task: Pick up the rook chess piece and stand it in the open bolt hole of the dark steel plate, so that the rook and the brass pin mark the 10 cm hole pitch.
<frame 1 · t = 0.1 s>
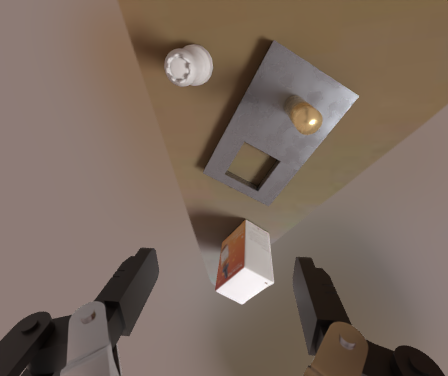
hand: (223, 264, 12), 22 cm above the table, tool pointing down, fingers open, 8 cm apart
small box: (244, 236, 42), on the table
bolt plate: (270, 136, 31), on the table
rook chess piece: (196, 65, 27), on the table
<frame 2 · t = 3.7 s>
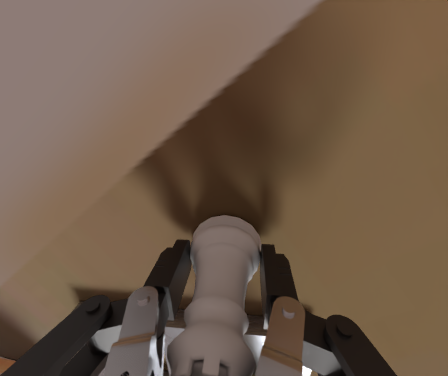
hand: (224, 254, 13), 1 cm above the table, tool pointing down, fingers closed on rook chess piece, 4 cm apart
small box: (36, 373, 25), on the table
bolt plate: (195, 355, 20), on the table
rook chess piece: (227, 238, 14), on the table, touching gripper
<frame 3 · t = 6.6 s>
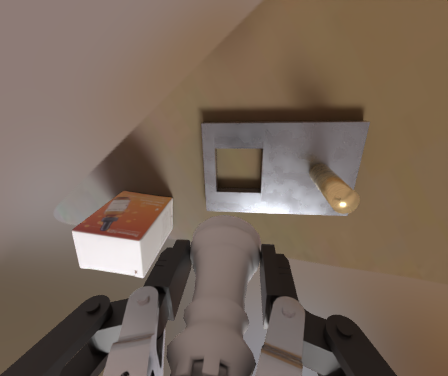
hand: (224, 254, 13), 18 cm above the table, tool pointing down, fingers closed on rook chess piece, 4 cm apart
small box: (149, 208, 34), on the table
bolt plate: (276, 168, 29), on the table
rook chess piece: (227, 238, 14), point 16 cm above the table, touching gripper
when the fingers open (2 cm above the table, at t = 9.3 s): rook chess piece stays where it is, resting in bolt plate.
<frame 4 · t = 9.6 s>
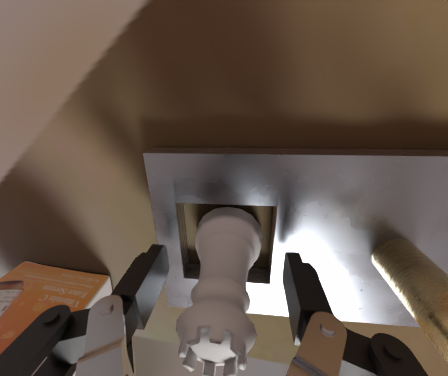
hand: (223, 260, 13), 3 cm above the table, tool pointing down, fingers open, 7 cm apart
small box: (74, 288, 19), on the table
bolt plate: (300, 235, 15), on the table
rook chess piece: (229, 229, 15), resting in bolt plate
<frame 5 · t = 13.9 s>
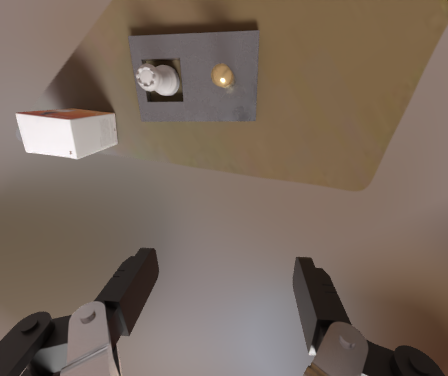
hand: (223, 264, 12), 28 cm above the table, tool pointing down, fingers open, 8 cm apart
small box: (96, 126, 39), on the table
bolt plate: (196, 81, 34), on the table
rook chess piece: (167, 81, 35), resting in bolt plate
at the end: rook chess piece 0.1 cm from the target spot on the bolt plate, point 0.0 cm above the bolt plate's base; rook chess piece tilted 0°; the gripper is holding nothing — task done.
